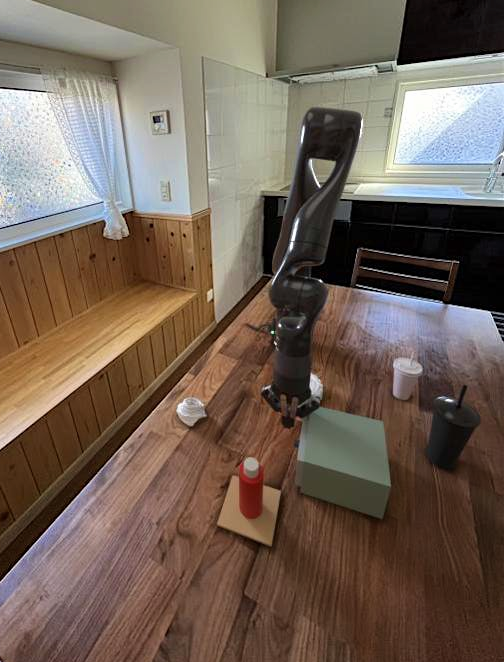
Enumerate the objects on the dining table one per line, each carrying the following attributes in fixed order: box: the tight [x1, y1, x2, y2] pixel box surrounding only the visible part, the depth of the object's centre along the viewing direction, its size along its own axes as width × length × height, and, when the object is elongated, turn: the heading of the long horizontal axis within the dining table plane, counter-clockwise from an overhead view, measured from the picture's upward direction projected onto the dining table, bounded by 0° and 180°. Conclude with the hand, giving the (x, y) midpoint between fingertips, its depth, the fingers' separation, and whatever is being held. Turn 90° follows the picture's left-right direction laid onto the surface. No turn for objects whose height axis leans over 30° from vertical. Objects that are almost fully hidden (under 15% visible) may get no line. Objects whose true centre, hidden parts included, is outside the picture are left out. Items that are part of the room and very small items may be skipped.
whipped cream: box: [176, 397, 208, 427], centre depth 85 cm, size 8×7×5 cm
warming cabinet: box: [300, 406, 392, 520], centre depth 68 cm, size 15×15×9 cm
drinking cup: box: [426, 384, 482, 470], centre depth 67 cm, size 8×8×20 cm
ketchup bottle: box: [238, 456, 265, 519], centre depth 61 cm, size 4×4×12 cm
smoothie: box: [392, 350, 424, 401], centre depth 85 cm, size 6×6×14 cm
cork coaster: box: [216, 474, 282, 548], centre depth 64 cm, size 10×10×1 cm
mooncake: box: [289, 372, 324, 408], centre depth 90 cm, size 12×12×4 cm
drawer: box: [293, 415, 309, 488], centre depth 69 cm, size 15×13×7 cm
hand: (288, 425), depth 76 cm, fingers closed
